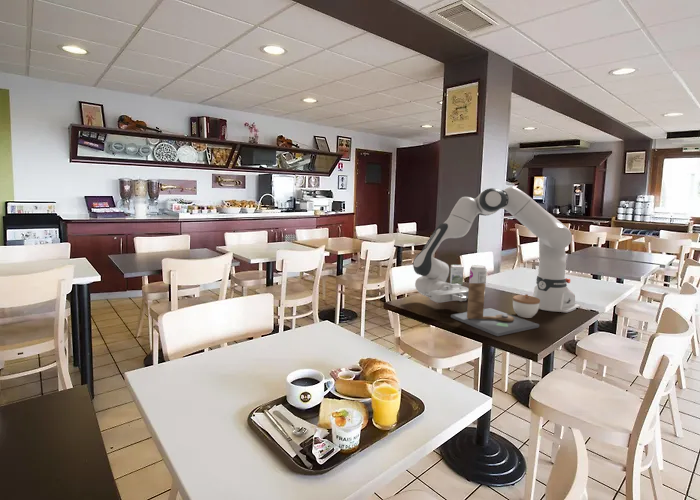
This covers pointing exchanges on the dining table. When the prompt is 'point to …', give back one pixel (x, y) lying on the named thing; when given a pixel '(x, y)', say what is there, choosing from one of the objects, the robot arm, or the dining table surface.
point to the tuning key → (480, 304)
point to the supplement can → (478, 274)
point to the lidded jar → (525, 305)
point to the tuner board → (496, 323)
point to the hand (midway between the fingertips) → (464, 299)
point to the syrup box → (456, 274)
